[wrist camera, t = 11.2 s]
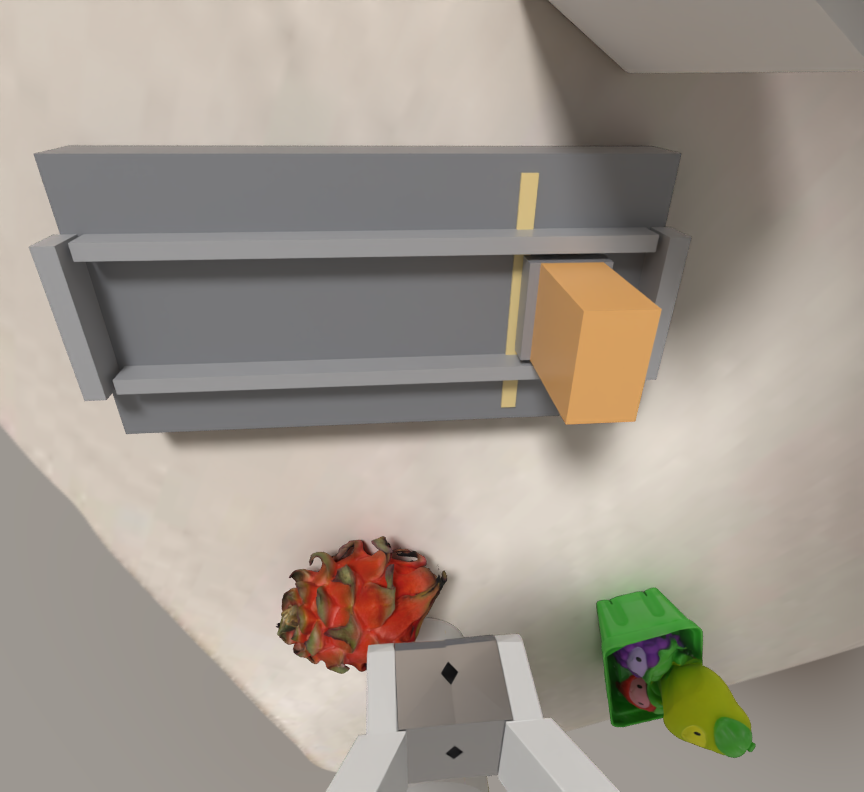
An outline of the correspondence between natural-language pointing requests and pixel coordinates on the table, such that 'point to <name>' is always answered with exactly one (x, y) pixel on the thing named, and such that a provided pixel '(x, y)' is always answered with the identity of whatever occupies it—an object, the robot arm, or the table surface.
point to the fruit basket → (666, 674)
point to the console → (332, 274)
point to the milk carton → (724, 34)
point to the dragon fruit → (357, 604)
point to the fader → (585, 335)
